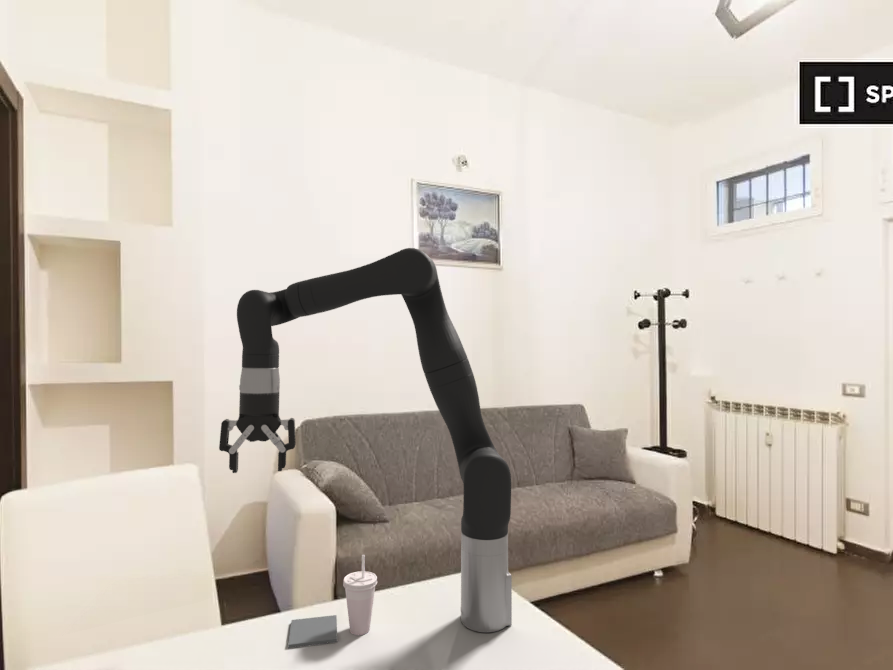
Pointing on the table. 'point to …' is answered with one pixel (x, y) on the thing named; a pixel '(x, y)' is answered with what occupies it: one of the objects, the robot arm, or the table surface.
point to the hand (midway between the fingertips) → (257, 471)
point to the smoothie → (360, 599)
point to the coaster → (313, 631)
